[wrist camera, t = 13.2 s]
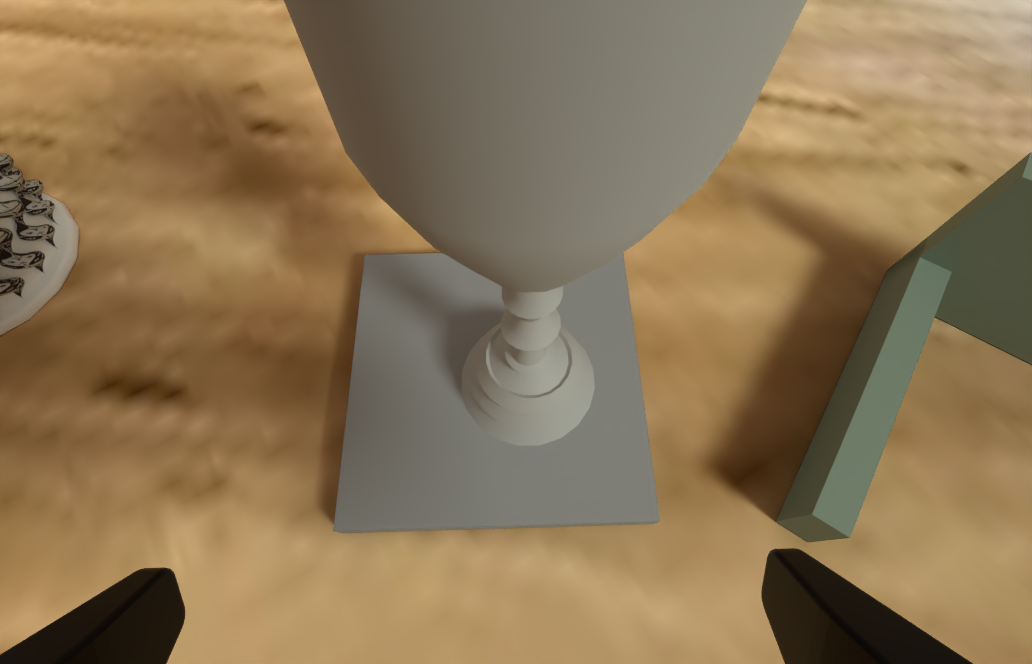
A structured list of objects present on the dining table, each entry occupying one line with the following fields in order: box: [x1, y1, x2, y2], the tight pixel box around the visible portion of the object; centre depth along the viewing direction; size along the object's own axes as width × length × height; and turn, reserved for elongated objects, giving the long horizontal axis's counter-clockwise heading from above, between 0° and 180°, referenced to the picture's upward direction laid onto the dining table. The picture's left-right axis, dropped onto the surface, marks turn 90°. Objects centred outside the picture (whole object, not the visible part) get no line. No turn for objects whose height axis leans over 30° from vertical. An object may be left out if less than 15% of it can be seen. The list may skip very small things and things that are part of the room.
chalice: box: [284, 0, 807, 446], centre depth 11 cm, size 7×7×18 cm
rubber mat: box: [333, 253, 660, 533], centre depth 20 cm, size 11×11×1 cm
